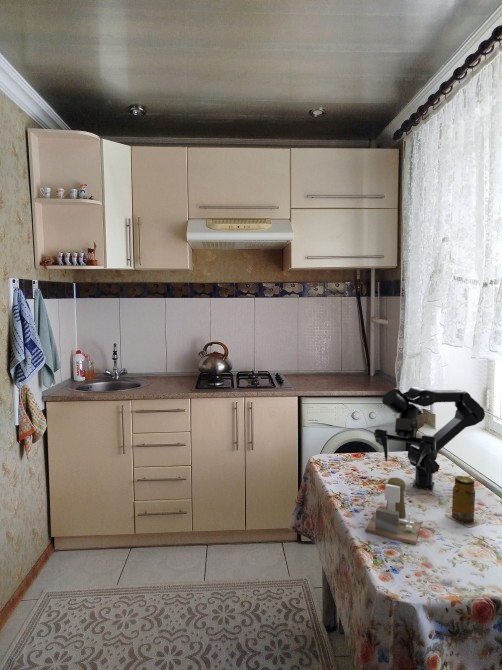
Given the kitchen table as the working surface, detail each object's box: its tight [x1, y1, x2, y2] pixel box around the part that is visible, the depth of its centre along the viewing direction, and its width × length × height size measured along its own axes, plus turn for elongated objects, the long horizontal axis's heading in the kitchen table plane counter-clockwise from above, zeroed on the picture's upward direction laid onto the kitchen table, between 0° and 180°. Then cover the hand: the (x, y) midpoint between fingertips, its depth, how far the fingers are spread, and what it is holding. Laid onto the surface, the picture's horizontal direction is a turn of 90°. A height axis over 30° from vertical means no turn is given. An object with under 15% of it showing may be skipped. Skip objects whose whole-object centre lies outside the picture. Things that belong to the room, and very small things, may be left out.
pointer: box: [406, 513, 412, 531], centre depth 126 cm, size 1×2×5 cm, turn 62°
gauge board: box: [364, 506, 422, 545], centre depth 129 cm, size 11×14×6 cm
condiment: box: [444, 475, 486, 528], centre depth 134 cm, size 7×8×12 cm
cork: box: [385, 477, 407, 519], centre depth 137 cm, size 6×6×11 cm
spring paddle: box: [384, 483, 415, 526], centre depth 131 cm, size 2×8×10 cm, turn 62°
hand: (401, 463), depth 143 cm, fingers open, 9 cm apart
